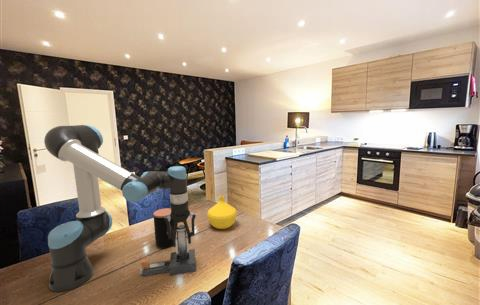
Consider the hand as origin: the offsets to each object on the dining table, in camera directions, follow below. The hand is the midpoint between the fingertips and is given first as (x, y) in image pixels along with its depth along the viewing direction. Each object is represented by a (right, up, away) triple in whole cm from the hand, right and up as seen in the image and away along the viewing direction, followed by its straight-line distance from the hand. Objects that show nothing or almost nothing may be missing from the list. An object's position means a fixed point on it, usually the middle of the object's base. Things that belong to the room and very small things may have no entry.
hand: (182, 250), depth 102 cm
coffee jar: (-14, -5, +20) cm, 25 cm away
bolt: (-13, -8, -2) cm, 15 cm away
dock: (-6, -8, 0) cm, 9 cm away
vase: (+15, -1, +39) cm, 42 cm away
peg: (0, -3, 0) cm, 3 cm away
